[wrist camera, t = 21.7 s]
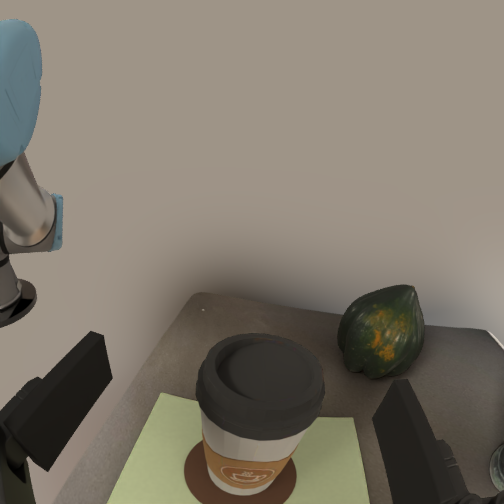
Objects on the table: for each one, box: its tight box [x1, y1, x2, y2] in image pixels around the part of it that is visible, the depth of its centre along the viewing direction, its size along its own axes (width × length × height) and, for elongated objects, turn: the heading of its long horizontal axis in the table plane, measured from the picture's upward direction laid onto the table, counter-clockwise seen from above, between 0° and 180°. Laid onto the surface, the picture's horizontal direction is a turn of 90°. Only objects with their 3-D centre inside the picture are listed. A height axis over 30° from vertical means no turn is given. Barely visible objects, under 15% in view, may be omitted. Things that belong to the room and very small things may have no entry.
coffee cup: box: [196, 333, 325, 495], centre depth 18 cm, size 8×8×15 cm
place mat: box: [107, 392, 370, 504], centre depth 19 cm, size 24×20×1 cm
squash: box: [337, 285, 425, 379], centre depth 38 cm, size 14×15×15 cm
